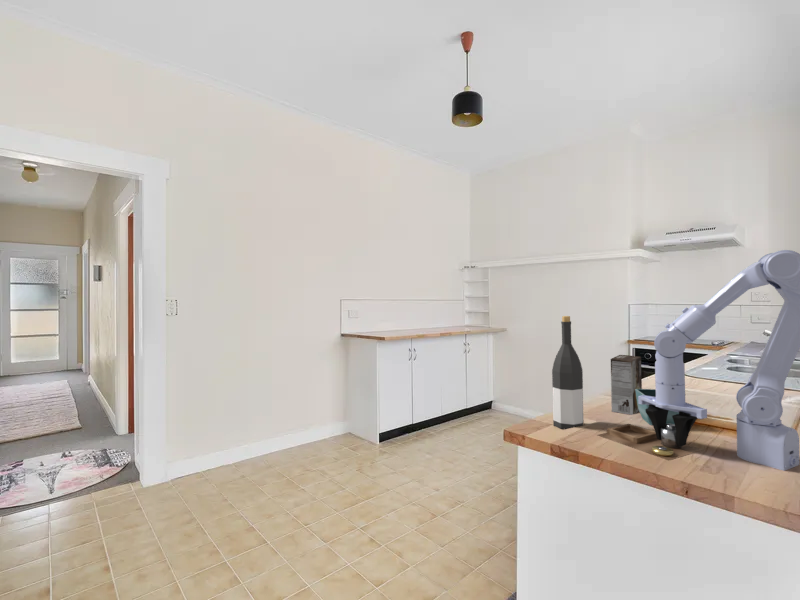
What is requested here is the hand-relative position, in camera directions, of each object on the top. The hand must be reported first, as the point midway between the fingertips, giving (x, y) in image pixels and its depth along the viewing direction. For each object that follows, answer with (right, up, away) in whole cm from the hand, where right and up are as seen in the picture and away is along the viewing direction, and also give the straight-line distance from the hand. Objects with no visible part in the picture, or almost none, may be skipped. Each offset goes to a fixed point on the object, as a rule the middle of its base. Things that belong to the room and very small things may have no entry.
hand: (671, 442), depth 97 cm
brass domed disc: (-5, -1, -4) cm, 6 cm away
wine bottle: (-16, -2, +19) cm, 25 cm away
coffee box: (+7, -1, +32) cm, 33 cm away
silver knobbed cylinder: (0, -1, 0) cm, 1 cm away
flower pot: (+7, -2, +17) cm, 18 cm away
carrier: (-4, -2, +3) cm, 5 cm away
